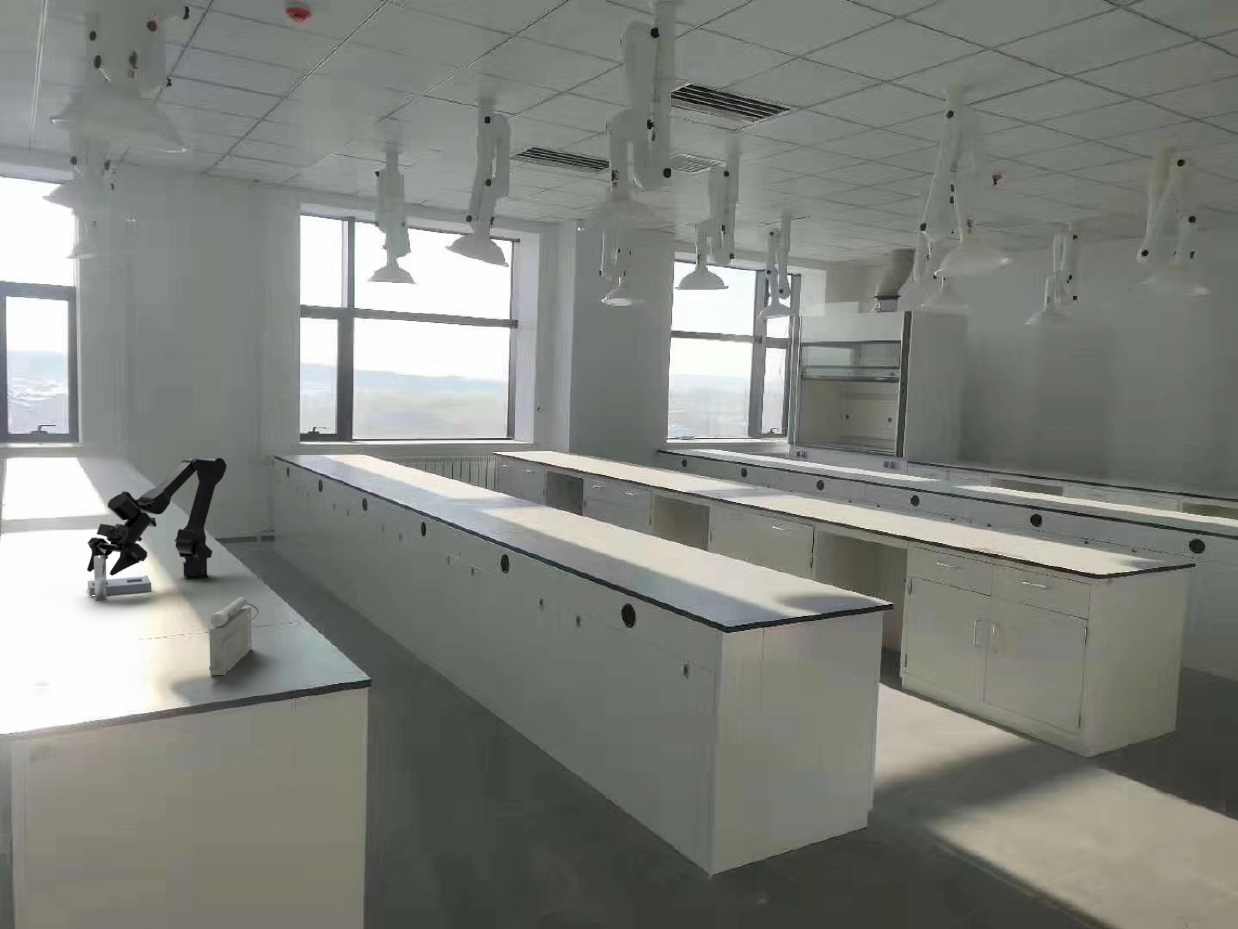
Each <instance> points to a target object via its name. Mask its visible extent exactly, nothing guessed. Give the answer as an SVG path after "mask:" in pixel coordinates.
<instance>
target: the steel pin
mask: <svg viewBox="0 0 1238 929" xmlns="http://www.w3.org/2000/svg"><path fill="white" fill-rule="evenodd" d="M93 572H94V574H93V577H94V578H93V581H94V583H95V596H94V600H95V599H96V600H95V601H104V600H107V599H108V597H107V596H108V595H107V585H106V580H107V559H106V556H104V555H100V556H94V570H93Z"/></svg>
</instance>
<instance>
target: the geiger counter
mask: <svg viewBox="0 0 1238 929" xmlns="http://www.w3.org/2000/svg"><path fill="white" fill-rule="evenodd" d="M252 607H253V608H254V609H255V610H256V613H255V615H253V616H252ZM259 613H260V612H259V608H258V607H257V606H256V605H254V604H252V603H249V602H248V600H247V598H246V597H244V596H239V597H238V598H236V599H235V600H234V601H232V602H231V603H230V604H228V605H226V606H225V608H223V609H222V610H218V611H217V612H215V613H214V614H213V615H212V616H211V617H210V621H209V622H210V624H211V625H212V626H211V627H210V628H209V660H210V661H209V668H208V669H209V671H210V672H209V673H210V674H209V675H224V674H225V673H226V672H227V671H228V670H229V669H231V668H232V667H233V665H235V664H236V663H237V662H238V661H239V660H240V659H241V658H242V657H243V656H244V657H246V655H247V654H248V653H249V652H250V651H249V650H251V648H253V644H252V641H253V640H252V621H253V620H254V619H256V618H257V617H258V615H259ZM248 651H249V652H248ZM251 651H252V650H251ZM247 652H248V653H247ZM246 653H247V654H246ZM245 654H246V655H245ZM244 657H243V658H244ZM243 658H242V659H243ZM242 659H241V660H242ZM241 660H240V661H241ZM240 661H239V662H240ZM239 662H238V663H239ZM238 663H237V664H238ZM237 664H236V665H237ZM236 665H235V666H236ZM233 668H234V667H233ZM233 668H232V669H233ZM232 669H231V670H232Z"/></svg>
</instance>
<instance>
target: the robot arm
mask: <svg viewBox="0 0 1238 929" xmlns="http://www.w3.org/2000/svg"><path fill="white" fill-rule="evenodd" d="M227 466H228V465H227V463H226V461H225V460H224V459H223V458H221V457H211V456H203V457H201V458H200V459H199V458H193V457H185V458H183V459H182V460H181V462H180V464H179V465H178V466H177V467H176V468H175V469H173V471H172V472H171V473H170V474H169V475H168V476H167V477H166V478H165V479H163V481H161V483H160V484H159V485H158V486H156V487H154V488H152V489H149V490H147V491H146V492H144V493H143V494H142V495H141V496H139V498H137V499H135V498H134V497H133V496H132V495H131V493H130V492H129V491H122V492H121V493H120V494H117V495H115V496H114V497H112V498H111V499H110V500H109V501H108V503H107V508H108V509H109V510H110V511H112V513H113V514H114V515H116V517H118V518H119V519H120V520H121V521H125V522H124V523H123V524H122V523H116V524H115V525H113V524H112V525H111V524H107V523H106V524H105V523H100V524H99V526H98V529H97V531H96V535H98V536H103V537H106V538H102V537H97V536H96V537H95V536H94V537H91V538H90V539H89V540H88V542H87V545H88V547H89V548H90V550H91V556H90V559H89V562H88V566H87V568H86V570H87V572H88V573H89V572H90V573H91V572H92V571H94V556H100V555H104V556H106V560H107V559H109V556H110V555H112V554H113V552H115V553H119V557H118V559H117V561H116V562H115V563H114V564H113V566H112V568H111V570H110V571H109V575H110V576H115V575H117V574H118V573H121V572H122V571H124V570H125V569H127V568H130V567H131V566H132V567H133V565H136V564H140V562H145V560H146V559H147V558H148V551H147V550H146V549H144V547H142V546H141V544H139V543H138V542H140V543H141V541H142V540H143V538H142V537H141V536H142V535H143V533H144V532H145V531H146V529H148V527H153V528H155V527H157V522H156V517H152V516H150V515H161V514H163V513H165V511H166V509H168V507H169V505H170V504H171V500H172V497H173V496H174V495H175V493H176V492H177V491H179V489H180V488H181V487H182V486H183V485H184V484H185V483H186V482H187V481H188V480H189V479H190V478H191V476H193V474H195V473H196V475H197V479H198V486H197V489H196V492H195V496H194V499H193V503H192V506H191V511H190V514H189V518H188V520H187V521H188V522H187V525H186V526H185V527H184V528H182V529H181V528H179V529H177V530H178V531H177V534H176V538H175V540H174V542H175V548H176V550H177V551H178V555H179V556H180V558H184V560H183V561H182V575H183V576H184V578H186V579H187V580H188V579H197V578H196V577H201V578H208V577H209V574H208V559H209V558H212V554H213V550H212V549H211V548H210V547H209V546H208V545H207V544H206V543H207V542H206V541H207V535H206V532H205V525H206V521H207V519H208V518H207V517H208V514H209V510H210V507H211V503H212V498H213V496H214V492H215V489H216V486H217V484H218V483H220V481H221V480H222V479H223V477H224V476H225V473H226V470H227ZM186 579H185V580H186Z"/></svg>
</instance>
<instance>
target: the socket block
mask: <svg viewBox="0 0 1238 929" xmlns="http://www.w3.org/2000/svg"><path fill="white" fill-rule="evenodd" d="M106 585H107V596H114V595H125V594H135V593H144V592H145V593H147V592H152V582H151V580H150V578H149V576H145V575H144V576H133V577H123V578H112V579H111V578H110V579H106ZM87 591H89V592H88V595H89V597H90V596H92V595H95V583H94V580H88V581H87Z"/></svg>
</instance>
